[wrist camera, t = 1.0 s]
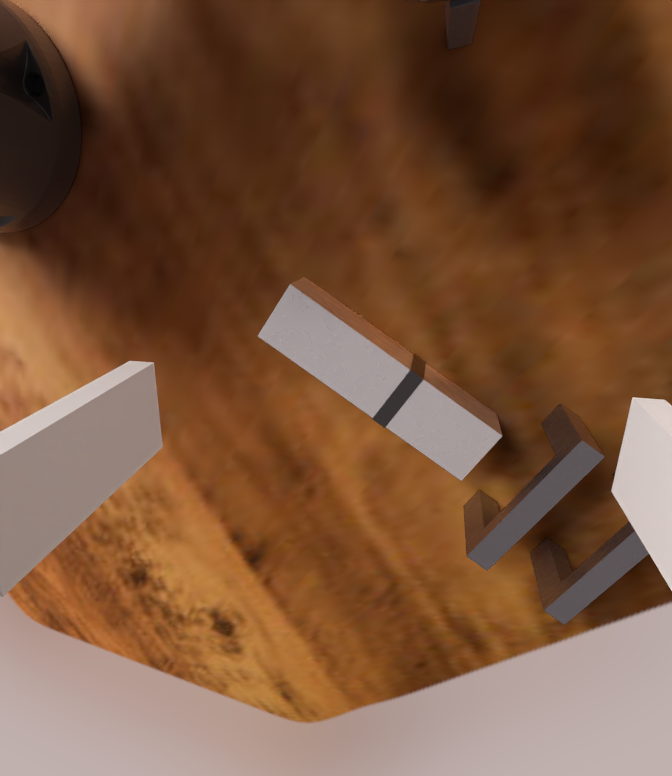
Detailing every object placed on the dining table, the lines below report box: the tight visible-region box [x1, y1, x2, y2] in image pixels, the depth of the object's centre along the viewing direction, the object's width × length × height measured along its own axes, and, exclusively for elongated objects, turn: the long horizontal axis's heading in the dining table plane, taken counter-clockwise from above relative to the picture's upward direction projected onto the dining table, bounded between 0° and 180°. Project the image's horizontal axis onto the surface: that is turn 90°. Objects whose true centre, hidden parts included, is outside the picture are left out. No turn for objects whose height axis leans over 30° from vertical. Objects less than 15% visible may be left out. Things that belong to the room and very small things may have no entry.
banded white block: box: [258, 277, 502, 481], centre depth 35 cm, size 16×4×4 cm, turn 56°
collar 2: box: [530, 472, 649, 625], centre depth 34 cm, size 2×10×6 cm, turn 147°
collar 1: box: [464, 404, 605, 571], centre depth 34 cm, size 2×10×6 cm, turn 146°
